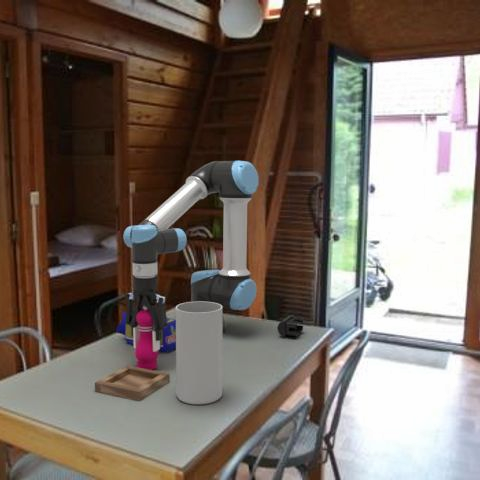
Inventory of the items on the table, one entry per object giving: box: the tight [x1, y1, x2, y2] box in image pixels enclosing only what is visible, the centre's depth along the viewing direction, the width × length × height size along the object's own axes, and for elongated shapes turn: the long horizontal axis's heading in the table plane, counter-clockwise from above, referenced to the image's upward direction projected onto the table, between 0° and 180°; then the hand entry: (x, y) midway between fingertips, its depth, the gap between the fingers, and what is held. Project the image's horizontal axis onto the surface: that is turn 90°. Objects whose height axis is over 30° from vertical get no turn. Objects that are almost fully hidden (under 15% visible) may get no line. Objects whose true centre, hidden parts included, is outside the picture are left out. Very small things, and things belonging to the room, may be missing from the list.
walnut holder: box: [94, 365, 171, 402], centre depth 156 cm, size 15×15×2 cm
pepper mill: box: [134, 306, 159, 371], centre depth 170 cm, size 7×7×20 cm
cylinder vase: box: [175, 301, 223, 405], centre depth 149 cm, size 12×12×25 cm
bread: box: [115, 311, 176, 354], centre depth 194 cm, size 10×25×10 cm, turn 54°
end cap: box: [277, 314, 304, 341], centre depth 205 cm, size 10×7×7 cm
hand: (146, 348), depth 170 cm, fingers closed on pepper mill, 6 cm apart
